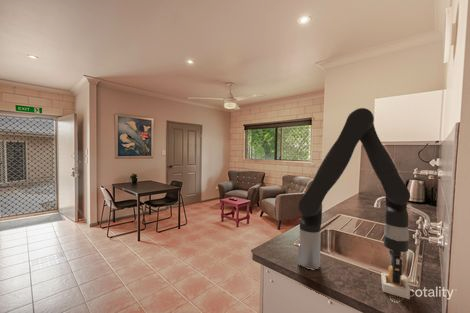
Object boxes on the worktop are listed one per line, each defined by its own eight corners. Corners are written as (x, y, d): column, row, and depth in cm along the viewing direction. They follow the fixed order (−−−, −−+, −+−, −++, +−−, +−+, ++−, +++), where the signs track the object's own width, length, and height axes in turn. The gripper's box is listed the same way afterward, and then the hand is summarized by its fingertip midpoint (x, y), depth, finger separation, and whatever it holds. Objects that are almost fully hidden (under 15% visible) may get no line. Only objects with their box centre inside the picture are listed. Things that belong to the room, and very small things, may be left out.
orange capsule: (388, 289, 81) (389, 269, 81) (387, 284, 85) (388, 264, 85) (401, 293, 79) (402, 272, 79) (400, 287, 83) (400, 267, 82)
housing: (382, 291, 80) (383, 281, 80) (381, 279, 88) (381, 269, 88) (409, 299, 76) (410, 288, 76) (405, 285, 84) (405, 275, 84)
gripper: (382, 228, 89) (381, 266, 90) (385, 240, 77) (384, 284, 78) (405, 231, 85) (404, 271, 86) (412, 245, 73) (410, 292, 74)
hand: (394, 277), depth 82 cm, fingers open, 7 cm apart
